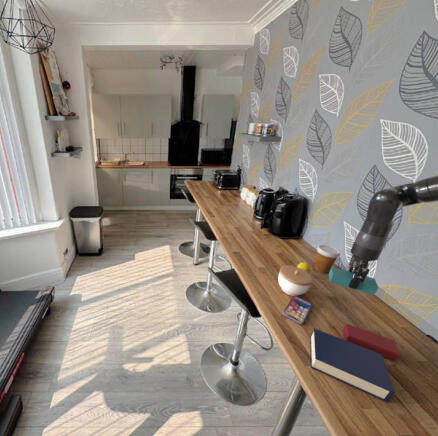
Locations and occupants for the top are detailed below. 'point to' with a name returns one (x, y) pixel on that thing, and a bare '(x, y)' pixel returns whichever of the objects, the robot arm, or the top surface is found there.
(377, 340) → the red rectangular block
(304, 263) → the lemon
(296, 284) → the lidded bowl
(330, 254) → the disposable coffee cup
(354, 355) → the big book
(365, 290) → the teal rectangular block
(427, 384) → the top surface
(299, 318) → the smartphone
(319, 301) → the top surface
